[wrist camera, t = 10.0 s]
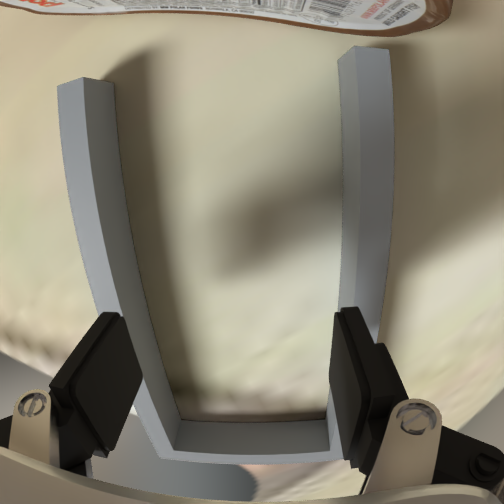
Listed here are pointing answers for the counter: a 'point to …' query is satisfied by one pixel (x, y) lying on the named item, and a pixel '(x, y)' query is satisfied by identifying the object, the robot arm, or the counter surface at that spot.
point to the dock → (129, 281)
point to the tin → (273, 12)
